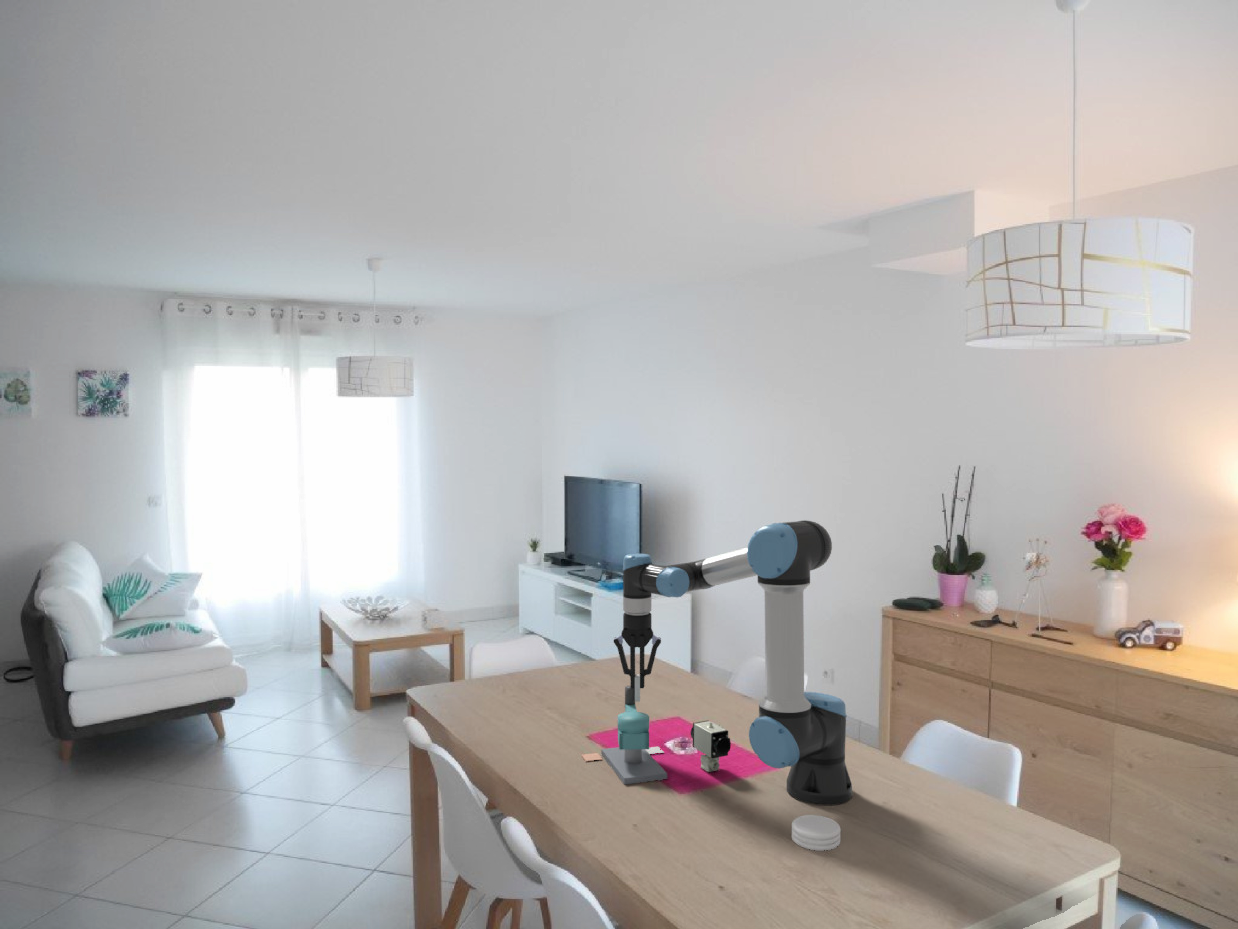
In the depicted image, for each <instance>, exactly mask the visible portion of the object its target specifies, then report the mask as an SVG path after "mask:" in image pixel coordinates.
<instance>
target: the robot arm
mask: <svg viewBox="0 0 1238 929" xmlns="http://www.w3.org/2000/svg"><path fill="white" fill-rule="evenodd" d="M825 528H826V527H825ZM825 528H824V526H822V525H821V524H820V523H818V522H816V521H812V520H807V519H806V520H805V519H804V520H799V521H787V522H786V521H785V522H774V523H771V524H767V525H764V526H762V527H760V528H758V529H757V530H756V531H755V532H754V533H753V534H752V535H751V537H750V539H749V541H748V545H747V546H746V547H742V548H738V549H735V550H730V551H728V552H724V553H721V554H717V555H714V556H711V557H707V558H703V559H699V560H696V561H690V562H685V563H676V564H669V565H668V564H667V565H661V564H654V563H653V561H652V557H651V555H650V554H647V553H630V554H626V555H624V558H623V561H622V562H623V565H622V586H623V587H622V590H623V592H622V594H623V596H622V599H623V600H622V605H623V606H622V611H623V612H624V613H622V620H623V621H622V623H623V624H622V625H623V627H622V628H623V629H622V631H621V634H619V635H618V636H615V637H613V643H614V645H615V647H616V648H617V651H618V655H619V660H620V663H621V666H622V671H623V674H624V675H628V676H629V677H630V686H631V688H635V703H636V702H637V703H639V702H641V689H644V688H645V677H646V676H649V675H651V673H652V669H653V667H654V662H655V658H656V654H657V650H658V648H659V646H660V645H661V643H662V638H661V637H657V635H655V634H654V631H653V629H652V613H651V611H652V594H655V595H658V596H663V597H667V598H680V597H681V598H682V597H683V596H684V595H685V594H686V593H687V592H692V591H693V592H694V591H699V590H707V589H710V588H713V587H715V586H719V585H723V584H727V583H731V582H735V581H736V582H737V581H740V580H744V579H748V578H752V577H757V584H758V585H759V586H760V587H761V588H762V589H763V590H764V654H765V656H764V659H765V660H764V662H765V663H764V664H765V695H764V696H763V697H762V698H761V699H760V700H759V701H758V717H756V718H755V719H754V720H753V722H752V723H751V724H750V726H749V729H748V738H749V743H750V746H751V748H752V750H753V752H754V754H755V755H757V757H758V759H759V760H760V761H761V762H762V763H764V764H765V765H766V766H768V767H770V768H773V769H783V768H786V767H790V769H789V772H788V775H787V778H786V792H787V793H788V794H789V796H791V797H793V798H794V799H796V800H799V801H800V802H804V803H808V804H811V805H819V806H837V805H841V804H845V803H847V802H849V801H850V800H851V799H852V798H853V784H852V780H851V777H850V774H849V771H848V768H847V765H846V735H847V734H846V732H847V731H846V727H847V713H846V711H847V710H846V703H845V701H844V700H842V699H841V698H840V697H838V696H835V695H831V694H828V693H823V692H816V691H815V692H813V691H805V638H804V637H805V636H804V634H805V630H804V627H805V626H804V625H805V624H804V622H805V621H804V619H805V617H804V616H805V615H804V591H805V590H806V588H807V587H809V585H810V584H811V571H814V570H817V569H819V568H821V567H823V566H824V565H825V564H826V563H827V561H828V560H829V559H830V557H831V554H832V549H833V544H832V543H833V542H832V538H831V536H830V533H829V532H828V531H827V529H825ZM651 640H652V641H651ZM624 641H625V643H626V644H627V645H628V647H629V653H630V655H629V656H630V657H629V658H630V661H629V662H630V665H629V666H628V661H627V658H626V654H625V650H624V646H623V643H624ZM650 641H651V644H652V647H651V652H650V654H649V658H648V663H647V666H646V668H645V647H646V646H647V645H648V644H649V643H650ZM636 648H639V674H637V673H636Z"/></svg>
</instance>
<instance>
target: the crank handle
mask: <svg viewBox="0 0 1238 929" xmlns="http://www.w3.org/2000/svg"><path fill="white" fill-rule="evenodd" d="M617 743H618V747H619V749H620V750H629V749H649V747H650V715H648V714H647V713H644V712H641V711H638V710H637V707H636V702H635V688H631V685H625V686H624V711H623V712H621V713H620V714H618V715H617Z"/></svg>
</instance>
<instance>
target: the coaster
mask: <svg viewBox="0 0 1238 929" xmlns="http://www.w3.org/2000/svg"><path fill="white" fill-rule="evenodd" d="M841 831H842V829H841V827H840V824H838V822H837V821H835V820H833V819H832V818H829V817H827V816H824V815H819V814H804V815H800V816H797V817H795V818H794V819H793V820H792V823H791V839H792V841H793V843H795V845H798V846H799V847H801V848H803V849H806V850H809V849H810V850H809V851H814V850H815V852H826V850H828V851H832V850H836V848H838V847H839V846H840V845H841ZM837 846H838V847H837ZM831 849H832V850H831ZM824 850H825V851H824Z"/></svg>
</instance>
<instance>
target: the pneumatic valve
mask: <svg viewBox="0 0 1238 929" xmlns="http://www.w3.org/2000/svg"><path fill="white" fill-rule="evenodd" d="M690 737H691V739H692V747H693V748H694V749H696V750H697V751H699V752H701V753H702V754H701V755H700V763H701V765H700V769H702V770H703V771H706V772H707V773H709V772H710V773H711V772H714V771H716V772H718V771H720V762H719V761H720V758H723V757H727V756H729V751H731V745H732V743H731V738H730V737H729V730H727V729H725V728H724V726H722V725H720V724H716V723H714V722H713V721H710V720H703V721H697V722H693V723H692V727H691V729H690ZM704 754H705V755H704ZM717 770H718V771H717Z"/></svg>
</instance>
